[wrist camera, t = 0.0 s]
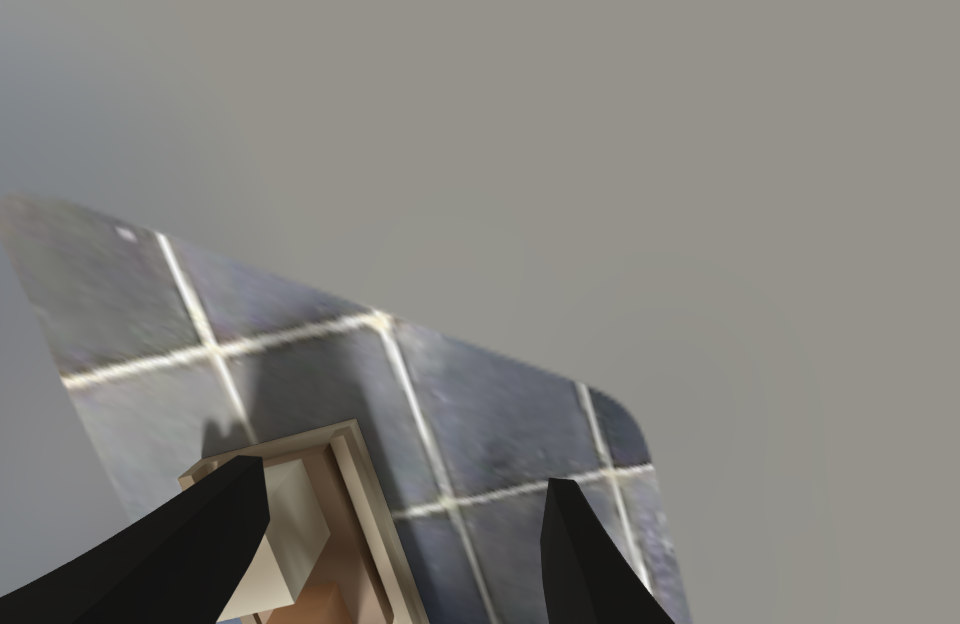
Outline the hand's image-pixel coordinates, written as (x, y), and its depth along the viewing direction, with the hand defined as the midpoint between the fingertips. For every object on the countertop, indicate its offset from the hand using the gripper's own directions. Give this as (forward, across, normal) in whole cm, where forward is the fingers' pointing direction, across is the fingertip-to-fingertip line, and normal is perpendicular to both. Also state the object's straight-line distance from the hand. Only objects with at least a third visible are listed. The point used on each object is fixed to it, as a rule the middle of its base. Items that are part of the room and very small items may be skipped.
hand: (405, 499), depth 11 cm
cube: (+7, +7, +8) cm, 13 cm away
